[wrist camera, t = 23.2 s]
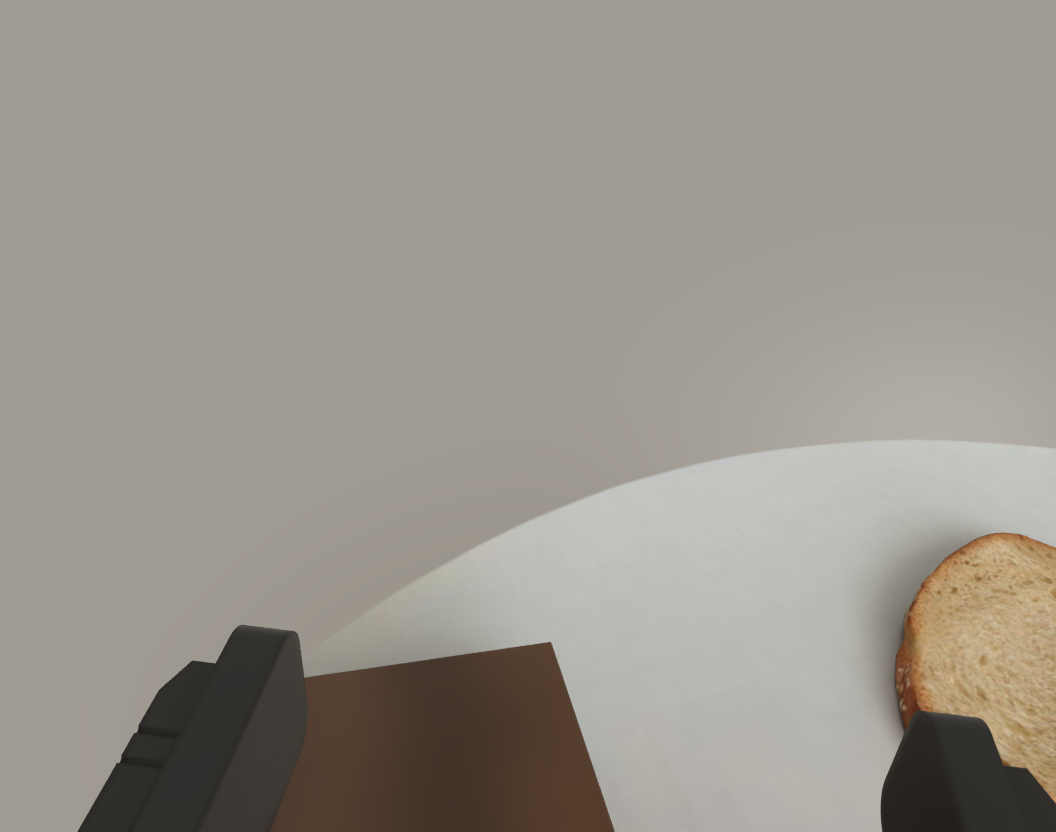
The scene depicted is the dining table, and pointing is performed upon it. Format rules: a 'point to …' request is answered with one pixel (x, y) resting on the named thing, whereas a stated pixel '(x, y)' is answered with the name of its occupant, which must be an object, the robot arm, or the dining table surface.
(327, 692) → the shelf
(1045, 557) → the bread slice
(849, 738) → the dining table surface
